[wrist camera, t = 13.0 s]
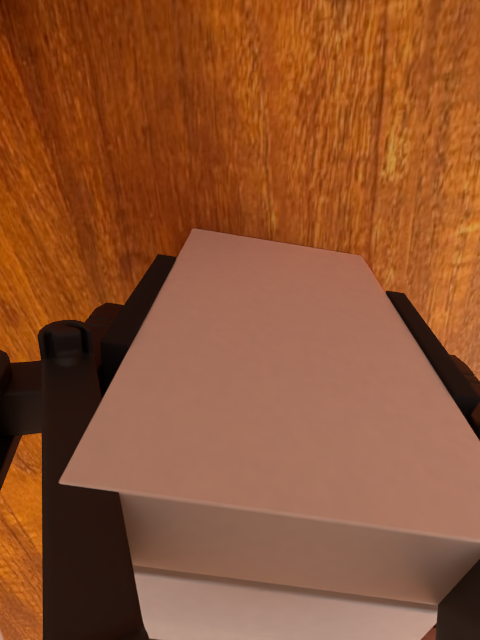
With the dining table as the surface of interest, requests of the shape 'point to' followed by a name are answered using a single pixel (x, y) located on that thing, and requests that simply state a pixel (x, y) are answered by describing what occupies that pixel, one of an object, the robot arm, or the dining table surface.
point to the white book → (285, 430)
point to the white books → (269, 610)
